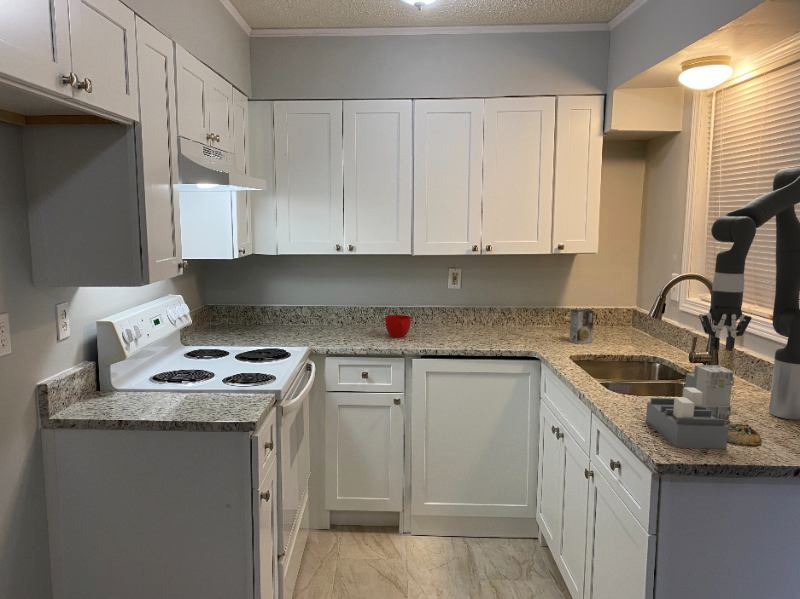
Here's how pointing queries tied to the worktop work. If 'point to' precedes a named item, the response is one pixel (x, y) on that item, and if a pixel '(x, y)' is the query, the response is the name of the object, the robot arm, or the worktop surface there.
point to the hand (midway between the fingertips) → (722, 349)
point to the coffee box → (581, 326)
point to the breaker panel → (687, 426)
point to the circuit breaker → (713, 388)
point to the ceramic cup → (397, 325)
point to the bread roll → (743, 435)
